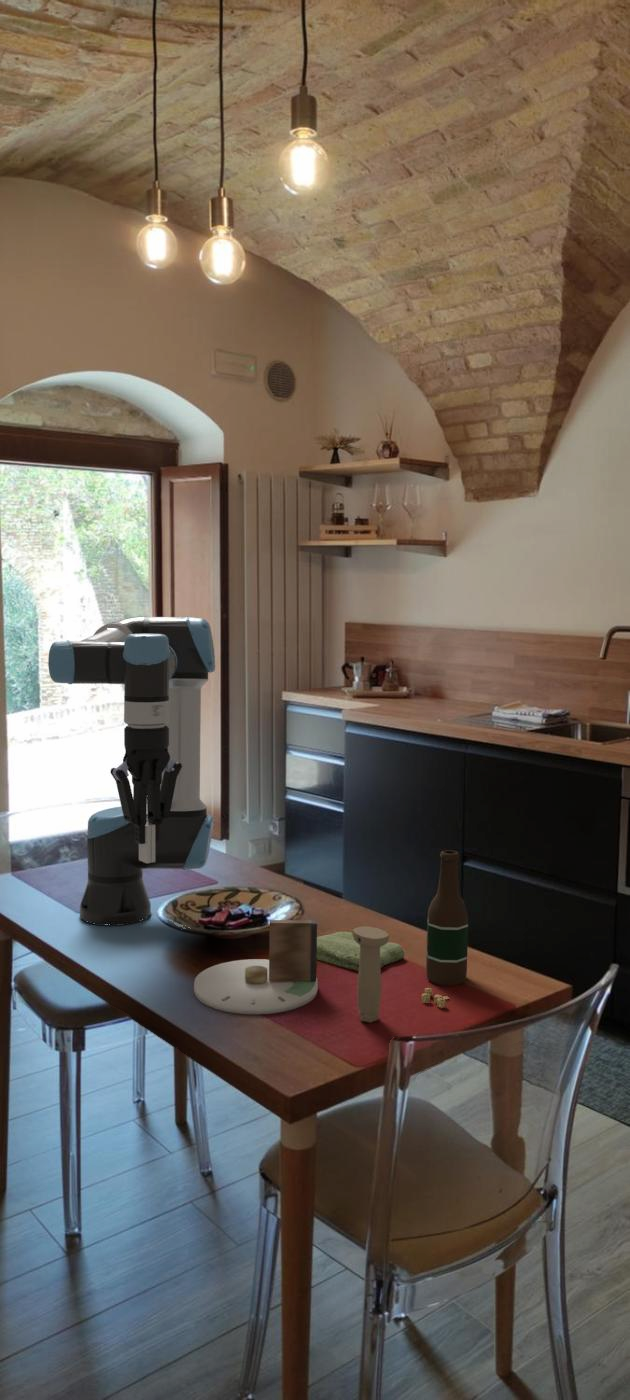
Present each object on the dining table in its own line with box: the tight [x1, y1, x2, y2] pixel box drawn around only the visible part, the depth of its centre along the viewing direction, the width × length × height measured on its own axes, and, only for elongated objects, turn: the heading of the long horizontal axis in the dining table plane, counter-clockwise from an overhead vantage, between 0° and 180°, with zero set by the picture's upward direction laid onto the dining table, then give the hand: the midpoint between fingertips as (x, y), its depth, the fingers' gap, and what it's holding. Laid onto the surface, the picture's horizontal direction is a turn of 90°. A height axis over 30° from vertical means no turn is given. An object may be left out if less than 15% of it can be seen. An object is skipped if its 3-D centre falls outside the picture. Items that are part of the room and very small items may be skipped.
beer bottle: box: [425, 849, 469, 986], centre depth 193 cm, size 8×8×24 cm
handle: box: [352, 925, 390, 1024], centre depth 175 cm, size 5×6×15 cm
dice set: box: [421, 987, 450, 1008], centre depth 184 cm, size 5×5×2 cm
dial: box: [193, 958, 319, 1015], centre depth 188 cm, size 22×22×2 cm
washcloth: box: [317, 931, 405, 972], centre depth 206 cm, size 13×18×3 cm
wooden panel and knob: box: [245, 919, 318, 984], centre depth 188 cm, size 13×4×11 cm, turn 92°
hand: (147, 860), depth 181 cm, fingers closed
